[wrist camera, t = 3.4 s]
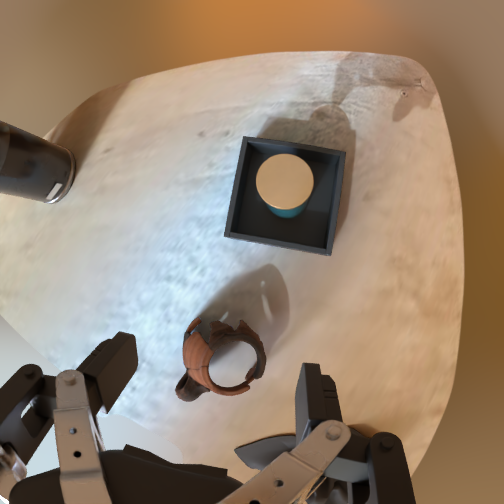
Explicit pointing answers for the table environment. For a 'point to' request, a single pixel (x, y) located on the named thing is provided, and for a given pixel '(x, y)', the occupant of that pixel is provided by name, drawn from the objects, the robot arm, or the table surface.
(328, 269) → the table surface
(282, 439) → the cloth
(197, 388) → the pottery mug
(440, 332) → the table surface
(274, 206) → the spice jar
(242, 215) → the bin
